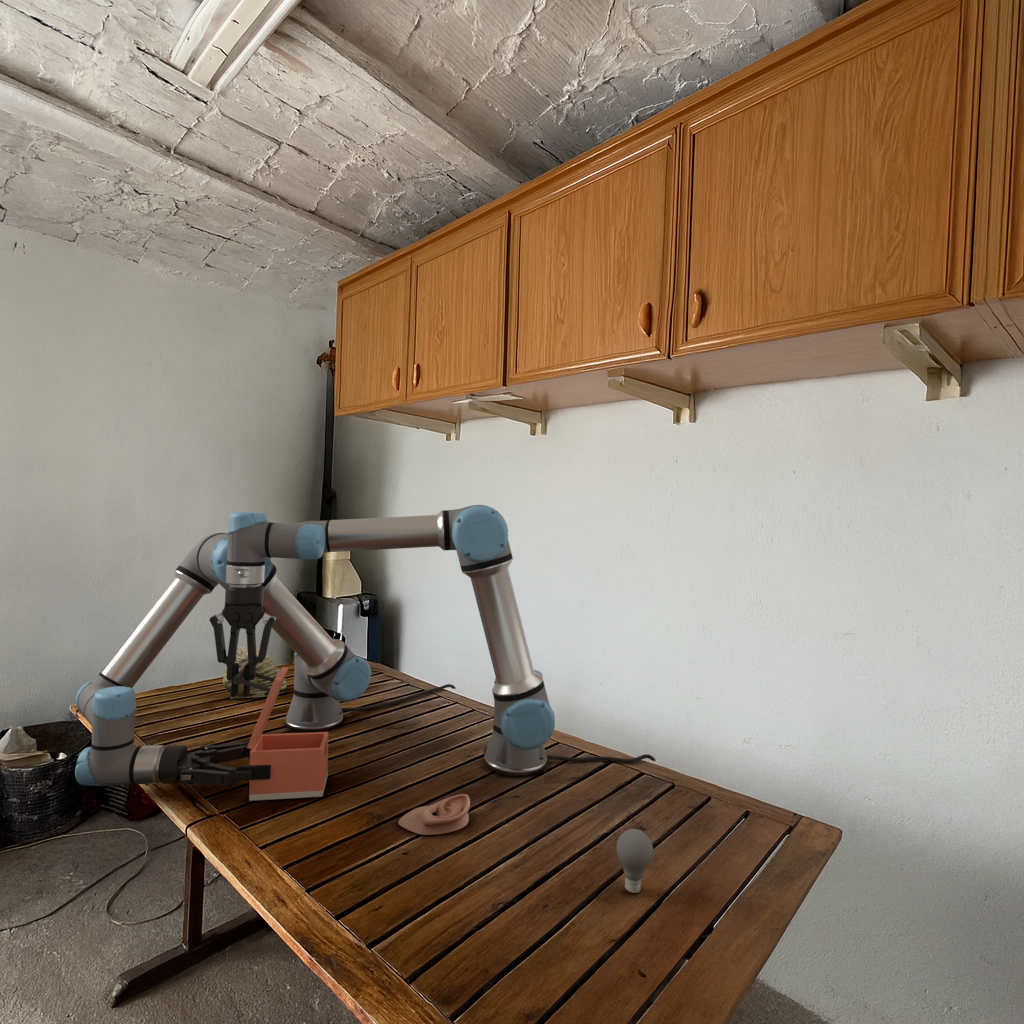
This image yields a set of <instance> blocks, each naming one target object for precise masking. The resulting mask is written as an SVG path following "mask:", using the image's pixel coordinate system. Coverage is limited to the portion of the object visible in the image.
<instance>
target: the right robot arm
mask: <svg viewBox="0 0 1024 1024" xmlns="http://www.w3.org/2000/svg"><path fill="white" fill-rule="evenodd" d="M228 518H229V519H228V527H227V532H226V533H227V565H226V583H227V584H229V585H228V586H227V587H226V588H225V589H224V592H225V593H224V606H223V608H222V610H221V612H220V613H218V614H214V615H212V616H210V617H209V622H210V624H211V626H212V628H213V633H214V634H213V636H214V643H215V651H216V658H217V662H218V663H219V664H224V665H227V666H226V667H227V680H233V678H234V677H235V676H236V675H237V673H238V672H239V663H235V661H236V653H237V648H238V647H239V646H238V644H239V637H240V633H241V630H245V634H246V647H247V649H248V663H247V664H246V665H245V666H244V680H247V681H250V680H254V678H255V676H256V664H258V663H262V662H263V661H264V659H265V658H266V654H267V652H268V648H269V644H270V638H271V633H272V630H273V629H272V626H273V624H274V622H275V621H276V619H277V618H276V616H271V615H269V614H267V613H265V609H264V606H263V596H264V587H263V586H262V585H261V584H262V583H264V573H265V557H268V558H271V559H273V558H276V559H291V560H292V559H294V560H303V561H307V560H319V559H321V558H322V557H323V555H324V554H326V553H338V552H339V553H340V552H358V551H360V552H361V551H377V550H401V549H418V548H419V549H420V548H437V547H439V548H440V549H441V550H442V551H445V552H446V551H456V555H457V558H458V562H459V567H460V570H461V573H462V574H464V575H465V576H467V577H469V579H470V581H471V585H472V589H473V594H474V597H475V601H476V605H477V609H478V613H479V617H480V620H481V625H482V629H483V634H484V636H485V640H486V645H487V649H488V653H489V656H490V661H491V664H492V668H493V672H494V677H495V678H494V681H493V682H494V683H493V687H492V689H491V692H492V695H493V701H494V703H493V722H492V723H493V724H492V726H493V727H492V732H491V736H490V738H489V741H488V743H487V746H486V747H485V748H484V749H483V755H484V757H483V760H484V761H483V763H484V766H485V767H486V768H487V769H488V770H489V771H491V772H494V773H496V774H498V775H503V776H508V777H529V776H534V775H537V774H539V773H542V772H544V770H546V768H547V765H548V764H547V763H548V762H547V761H548V760H550V761H551V760H552V761H563V762H564V761H565V762H578V763H579V762H581V763H582V762H591V761H606V762H607V761H608V762H616V763H625V764H632V763H637V762H639V761H643V760H645V759H649V760H650V761H652V762H656V761H657V759H656V758H655V757H654V756H653V755H651V754H648V753H646V754H645V753H644V754H642V755H639V756H637V757H633V758H621V757H614V756H605V755H604V756H603V755H600V756H598V755H597V756H586V757H583V756H582V757H570V756H563V755H561V756H560V755H549V754H548V755H547V753H546V749H545V744H546V743H547V742H548V741H549V740H550V738H551V737H552V735H553V734H554V731H555V727H556V716H555V712H554V710H553V708H552V707H551V705H550V701H549V697H548V693H547V690H546V685H545V682H544V674H543V673H542V672H541V671H540V670H536V669H534V665H533V661H532V658H531V654H530V650H529V646H528V641H527V637H526V634H525V629H524V626H523V621H522V618H521V617H522V616H521V614H520V610H519V606H518V602H517V598H516V594H515V589H514V586H513V582H512V579H511V574H510V569H509V568H510V566H511V564H512V562H513V560H514V558H513V553H512V549H511V546H510V541H509V528H508V524H507V522H506V520H505V518H504V516H502V514H501V513H500V512H499V511H498V510H496V509H495V508H493V506H488V505H485V504H473V505H468V506H465V507H461V508H455V509H447V510H446V509H445V510H443V509H442V510H440V511H439V512H438V513H437V514H430V515H429V514H428V515H426V514H425V515H409V516H407V515H406V516H389V517H388V516H387V517H386V516H385V517H369V518H366V517H365V518H349V519H348V518H347V519H345V518H344V519H330V520H313V519H311V520H304V521H301V522H295V523H294V522H293V523H292V522H289V523H287V522H272V521H268V516H267V514H266V513H265V512H256V511H255V512H253V511H234V512H232V513H231V514H230V515H229V517H228ZM262 617H263V618H262ZM224 619H225V620H226V622H227V623H228V625H229V626H230V630H229V634H230V635H229V643H228V650H227V649H226V641H225V640H226V639H225V632H224V625H223V623H224ZM262 620H263V621H262ZM260 621H262V622H263V625H264V626H263V631H262V634H261V635H262V636H261V640H260V645H259V648H260V649H259V654H258V656H257V655H256V649H257V637H256V631H257V630H256V629H257V628H256V627H257V625H258V624H259V622H260ZM237 694H238V684H237V685H236V684H234V683H233V681H232V682H231V697H235V696H236V695H237ZM249 694H250V686H248V685H245V684H244V689H243V697H247V696H248V695H249Z"/></svg>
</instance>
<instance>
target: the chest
mask: <svg viewBox="0 0 1024 1024" xmlns="http://www.w3.org/2000/svg"><path fill="white" fill-rule="evenodd" d="M249 765H271V774H270V779H264V780H248V781H249V782H248V783H249V785H248V787H249V790H248V791H249V793H248V801H249V802H250V801H251V802H252V801H267V800H285V799H304V798H321V797H324V792H325V788H326V784H327V779H328V776H329V774H328V773H329V731H318V732H292V733H289V732H288V733H267V734H263V733H262V735H261V737H260V738H259V740H258V742H257V744H256V745H255V747H254V749H253V750H251V751H250V759H249Z"/></svg>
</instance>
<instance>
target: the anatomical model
mask: <svg viewBox="0 0 1024 1024" xmlns="http://www.w3.org/2000/svg"><path fill="white" fill-rule="evenodd" d="M470 808H471V799H470V796H469V795H468V794H466V793H461V794H456V795H452V796H448V797H447V798H443V799H441V800H439V801H436V802H435V803H432V804H430V805H425V806H419V807H416V808H413V809H411V810H410V811H408V812H407V813H405V814H404V815H403V816H402V817H400V818H399V820H398V822H397V823H398V825H399V826H400V827H402V828H403V829H405V830H406V831H409V832H411V833H413V834H417V835H421V836H431V835H432V836H433V835H442V834H448V833H452V832H456V831H459V830H461V829H463V828H464V827H466V826H467V825H468V823H469V821H470V816H469V810H470Z"/></svg>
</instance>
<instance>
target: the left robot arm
mask: <svg viewBox="0 0 1024 1024" xmlns="http://www.w3.org/2000/svg"><path fill="white" fill-rule="evenodd" d="M226 565H227V532H215V533H211V534H208V535H207V536H205V537H203V538H202V539H201V540H200V541H198V542H197V543H196V544H195V545H194V547H192V549H191V550H190V551H189V552H188V553H187V554H186V556H185V558H184V559H183V560H182V561H181V562H180V564H179V565H178V566H177V567H176V568H175V570H174V571H173V572H174V578H173V580H172V581H171V582H170V584H169V585H168V586H167V588H165V590H164V591H163V592H162V594H161V595H160V596H159V598H157V600H156V601H155V603H154V604H153V605H152V607H151V608H150V609H149V610H148V612H147V613H146V614H145V615H144V616H143V618H142V619H141V621H139V623H138V624H137V625H136V627H134V629H133V630H132V632H131V633H130V634H129V636H128V637H127V638H126V639H125V641H124V642H123V643H122V644H121V645H120V647H119V648H118V649H117V651H116V652H115V653H114V655H113V656H112V657H111V658H110V660H109V661H108V662H107V663H106V664H105V666H104V667H103V668H102V670H101V671H100V672H99V673H98V674H97V676H96V677H95V678H94V679H93V680H90V681H87V682H86V683H84V684H83V685H82V686H80V688H79V689H78V691H77V693H76V695H75V704H76V707H77V709H78V711H79V713H80V714H81V715H82V716H83V717H85V719H86V720H87V722H88V723H89V724H90V725H91V745H90V746H88V747H86V748H83V750H81V752H80V753H79V755H78V756H77V757H78V758H77V760H76V766H75V767H74V768H75V769H74V776H75V777H74V778H75V780H76V782H77V783H78V784H79V785H81V786H86V787H87V786H88V787H89V786H91V787H100V788H102V787H109V786H110V787H111V786H128V785H129V786H130V785H135V786H136V785H144V786H145V787H149V786H150V785H157V784H159V783H160V784H162V785H170V784H171V785H172V784H173V785H174V784H176V785H177V784H182V785H185V784H197V785H208V786H217V787H229V786H230V787H232V786H235V785H236V781H250V780H264V779H270V774H271V765H250V764H249V765H237V766H236V767H232V766H227V765H223V763H226V762H232V761H237V760H242V759H245V758H247V760H250V751H251V750H252V749H249V748H247V747H248V744H249V742H250V740H249V741H240V742H233V743H232V742H231V743H224V744H223V743H222V744H214V745H200V746H199V750H196V751H193V752H192V751H191V752H190V751H189V750H188V747H187V746H186V745H185V744H168V745H167V746H165V745H164V744H157V745H155V744H154V745H153V744H152V745H135V729H136V726H135V725H136V710H137V701H136V699H137V698H136V691H135V689H134V687H135V685H136V684H137V683H138V681H139V680H140V679H141V678H142V676H144V674H145V672H146V671H147V670H148V668H149V667H150V665H152V663H153V662H154V660H155V659H156V658H157V657H158V655H160V653H161V652H162V650H163V649H164V647H165V646H166V645H167V644H168V642H169V641H170V640H171V639H172V637H173V636H174V634H175V633H176V632H177V631H178V629H179V628H180V626H181V625H182V624H183V623H184V622H185V620H186V619H187V617H189V615H190V614H191V613H192V611H194V609H195V607H196V606H197V604H198V603H199V601H201V599H202V598H203V597H204V596H206V595H209V594H211V593H212V592H213V591H214V590H215V588H217V586H218V585H220V586H221V587H222V588H223V589H224V590H225V588H226V587H227V586H228V585H229V584H227V583H226ZM277 576H278V568H277V566H276V565H275V564H274V563H273V562H272V558H268V557H265V573H264V583H262V584H261V585H262V586H263V587H264V596H263V606H264V609H265V613H267V614H269V615H271V616H276V618H277V619H276V621H275V622H274V624H273V626H272V629H271V630H273V631H274V632H275V633H276V634H277V635H278V636H279V638H281V639H282V640H283V641H284V642H285V643H286V644H287V646H289V647H290V648H291V650H292V651H294V655H293V657H294V672H293V695H292V696H293V697H292V699H291V702H290V704H289V708H288V711H286V712H285V726H286V728H287V729H289V730H291V731H294V732H295V731H296V732H300V733H313V732H326V731H329V730H332V729H335V728H337V727H339V726H340V725H342V723H343V722H344V714H343V712H362V711H369V710H373V709H377V708H382V707H386V706H390V705H395V704H398V703H402V702H406V701H409V700H412V699H415V698H418V697H421V696H424V695H427V694H430V693H434V692H438V691H442V690H444V689H447V688H451V689H452V690H456V689H457V688H456V686H455V685H454V684H451V683H447V684H444V685H441V686H438V687H433V688H430V689H426V690H423V691H421V692H418V693H415V694H412V695H409V696H406V697H401V698H398V699H394V700H390V701H386V702H381V703H376V704H373V705H367V706H361V707H360V706H359V707H342V706H341V702H343V703H350V702H353V701H356V700H357V699H359V698H360V697H361V696H362V695H363V694H364V693H365V692H366V690H367V689H368V687H369V685H370V682H371V676H372V668H371V666H370V664H369V662H368V661H367V660H365V658H363V657H362V656H357V655H356V654H355V653H354V652H353V651H352V650H351V649H350V647H348V645H347V644H346V643H345V642H344V641H343V640H342V639H338V638H332V637H331V636H330V635H329V634H328V632H327V631H326V630H325V629H324V628H323V627H322V626H321V625H320V624H319V623H318V621H317V620H316V619H315V618H314V617H313V616H312V615H311V614H310V612H309V611H308V610H307V609H306V608H305V607H304V606H303V604H301V603H300V602H299V600H297V598H296V597H295V596H294V595H293V594H292V593H291V591H290V590H288V588H287V587H286V586H285V585H284V584H283V583H282V582H281V581H280V579H279V578H278V577H277ZM261 619H263V617H262V618H261Z"/></svg>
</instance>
